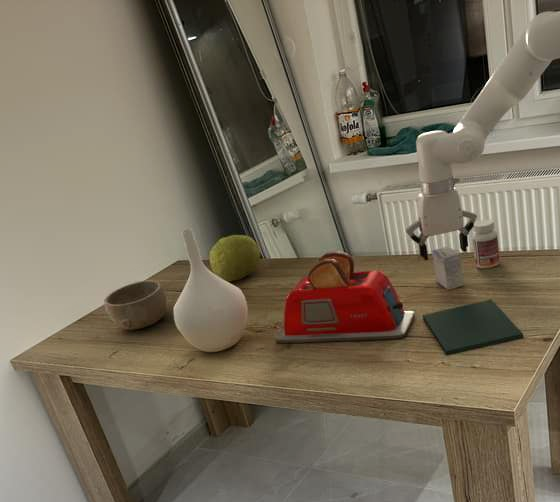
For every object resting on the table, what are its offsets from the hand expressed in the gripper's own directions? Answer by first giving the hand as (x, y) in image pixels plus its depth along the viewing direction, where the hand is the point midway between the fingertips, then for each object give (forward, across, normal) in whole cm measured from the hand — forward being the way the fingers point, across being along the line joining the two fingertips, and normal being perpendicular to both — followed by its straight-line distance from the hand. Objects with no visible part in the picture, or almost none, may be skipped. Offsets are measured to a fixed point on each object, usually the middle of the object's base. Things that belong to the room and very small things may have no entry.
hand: (444, 254), depth 169 cm
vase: (+9, +60, +4) cm, 60 cm away
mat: (+8, +2, +27) cm, 28 cm away
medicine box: (+8, 0, 0) cm, 8 cm away
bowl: (+10, +84, -24) cm, 87 cm away
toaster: (+8, +28, +13) cm, 33 cm away
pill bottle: (+8, -12, -7) cm, 16 cm away
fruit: (+9, +54, -44) cm, 71 cm away
